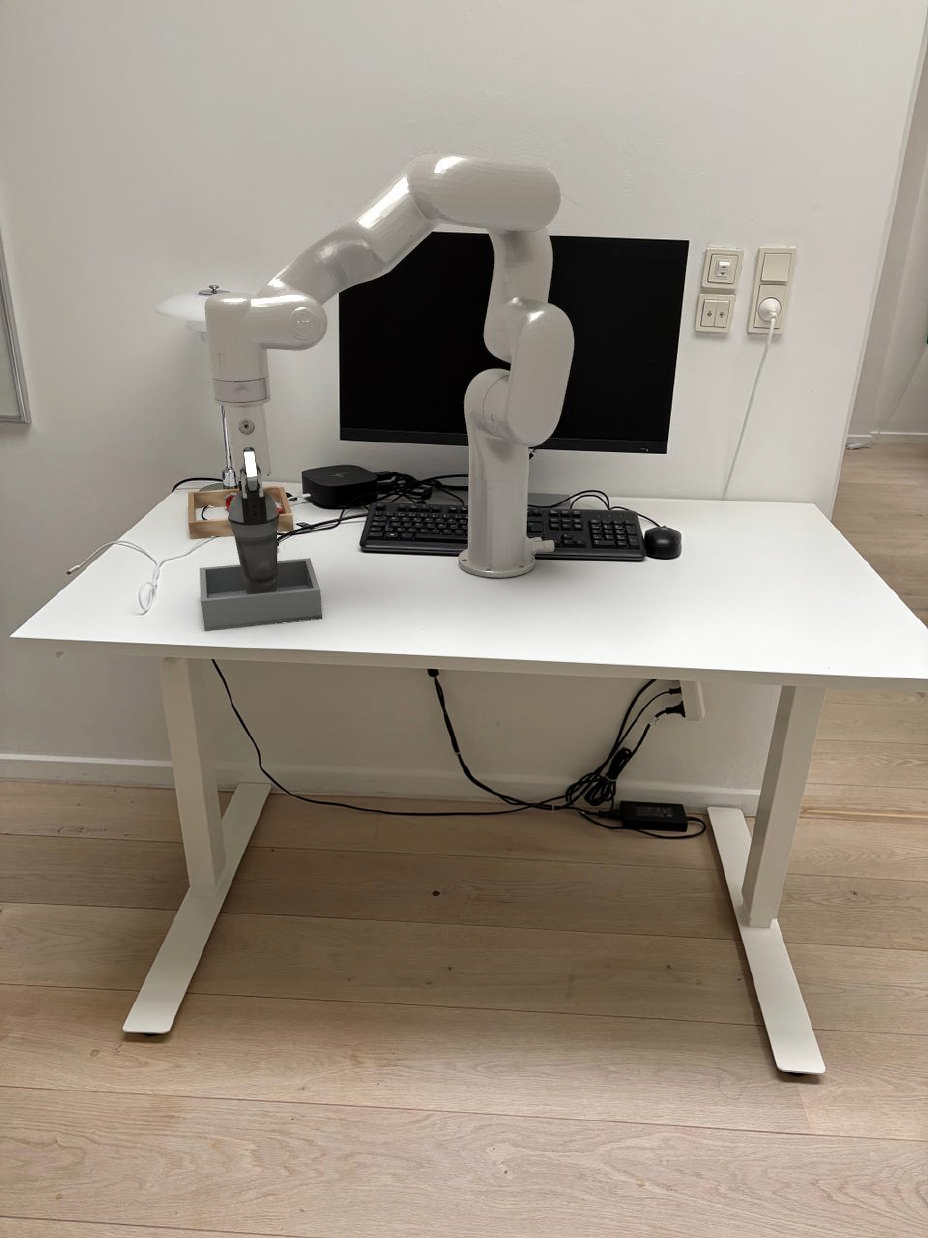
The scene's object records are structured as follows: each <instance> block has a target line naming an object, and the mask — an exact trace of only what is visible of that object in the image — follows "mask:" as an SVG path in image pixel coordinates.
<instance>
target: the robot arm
mask: <svg viewBox="0 0 928 1238" xmlns="http://www.w3.org/2000/svg"><path fill="white" fill-rule="evenodd" d="M561 196H562V195H561V188H560V185H559V182H558V180H557V178H556V177H555V176H554V175H553V173H552V172H551V171H550V170H549V169H548V168H546V167H544V166H542V165H540V164H537V163H531V162H530V163H529V162H523V161H522V162H521V161H512V160H511V161H510V160H503V159H495V158H494V159H493V158H487V157H486V158H485V157H479V156H478V157H477V156H473V155H466V154H461V153H460V154H458V153H427V154H426V153H425V154H422V155H419V156H417V157H415V158H414V159H412V160H411V161H410V162H408V163H407V164H406V165H404V166H403V167H402V168H401V169H400V170H399V171H398V172H397V173H396V174H395V175H393V177H392V178H391V179H390V180H388V181H387V182H386V183H385V184H384V185H383V186H382V187H381V188H380V189H379V190H378V191H376V193H374V195H373V196H372V197H370V198H369V199H368V200H367V201H366V202H364V204H363V205H362V206H360V208H358V209H357V211H356V212H354V213H353V214H352V215H350V217H348V219H346V220H345V221H344V222H342V223H341V224H339V225H338V226H336V227H335V228H334V229H331V230H330V231H329V232H328V233H326V234H325V235H324V236H322V237H321V238H320V239H318V240H317V241H315V242H314V243H312V244H311V245H309V246H308V247H306V248H305V249H304V250H302V251H301V252H300V253H298V254H297V255H296V256H294V257H293V258H292V259H291V260H290V261H289V262H288V263H287V264H285V266H283V267H282V268H281V269H280V270H279V271H278V272H277V273H276V274H275V275H274V276H273V277H272V278H271V279H270V280H268V281H267V283H265V284H264V285H263V286H262V287H261V289H260V290H259V291H258V292H257V294H253V293H249V292H237V291H236V292H235V291H234V292H223V293H222V292H220V293H215V294H212V295H210V296H208V297H207V298H206V300H205V302H204V318H205V327H206V338H207V347H208V354H209V355H208V356H209V363H210V365H209V366H210V374H211V381H212V393H213V399H214V400H213V402H214V403H215V404H216V405H219V406H222V407H223V408H224V416H225V417H224V418H225V427H226V435H227V440H228V447H229V452H230V457H231V462H232V466H233V469H234V470H233V471H234V473H235V476H236V477H237V478H239V480H237V481H238V489H239V492H240V491H241V490H242V492H243V497H241V501H242V511H243V521H244V525H259V524H266V523H267V513H266V502H265V495H263V487H264V486H263V481H262V479H263V478H262V477H263V475H266V477H270V476H271V475H272V465H271V457H270V446H269V445H270V444H269V435H268V425H267V417H266V410H265V405H264V404H267V403H269V402H270V401H271V400H272V397H271V396H272V395H271V394H272V393H271V386H270V385H271V384H270V375H269V361H268V350H279V351H282V350H283V351H292V352H293V351H294V352H296V351H297V352H298V351H299V352H301V351H305V350H310V349H311V348H313V347H314V348H315V346H317V345H319V343H321V341H322V340H323V339H324V338H325V335H326V333H327V331H328V326H329V323H328V322H329V320H328V316H327V312H326V310H325V308H324V307H323V305H325V304H326V303H328V301H330V300H331V299H332V298H334V297H335V296H336V295H338V294H339V293H342V292H343V291H345V290H347V289H348V288H351V287H353V286H355V285H358V284H362V283H366V282H369V281H373V280H375V279H377V278H380V277H382V276H384V275H385V274H388V273H390V272H391V271H392V270H393V269H394V268H395V267H396V266H397V265H398V264H400V262H402V261H403V259H405V258H406V256H408V255H409V254H410V253H411V252H412V251H413V250H414V249H415V248H416V247H417V246H418V245H420V243H421V242H422V241H424V239H426V238H427V237H428V236H429V235H431V233H432V232H433V231H434V230H435V229H436V228H437V227H439V226H440V225H441V224H443V225H453V226H460V227H467V228H474V229H484V230H486V232H487V233H488V235H489V237H490V240H491V243H492V246H493V247H492V248H493V252H494V265H493V267H494V268H493V274H492V275H493V276H492V282H491V287H490V294H489V300H488V306H487V312H486V317H485V322H484V331H483V339H484V344H485V347H486V348H487V350H488V351H489V352H490V353H491V354H492V356H494V357H495V358H498V359H500V360H502V361H504V362H507V363H509V364H510V369H509V370H507V369H503V368H491V369H490V368H489V369H486V370H483V371H481V372H479V373H478V374H477V375H475V377H473V378H472V380H471V381H470V382H469V384H468V386H467V389H466V390H465V394H464V400H463V404H464V406H463V408H464V409H463V410H464V419H465V424H466V425H465V426H466V432H467V440H468V443H467V444H468V502H467V503H468V506H467V507H468V511H467V512H468V513H467V514H468V515H467V517H468V518H467V519H468V521H467V522H468V523H467V548H466V549H464V550H463V551H461V552H460V553H459V555H458V565H459V567H460V568H461V569H462V570H464V571H465V572H467V573H470V574H472V575H475V576H480V577H485V578H501V579H502V578H511V577H517V576H520V575H523V574H526V573H529V572H530V571H531V570H533V568H534V567H535V560H536V559H535V555H537V553H550V552H551V553H552V552H554V551H555V543H554V540H553V539H549V540H543V538H542V537H541V536H540V537H539V536H538V537H531V538H529V537H528V535H527V524H528V523H527V518H528V497H529V495H528V492H529V474H530V473H529V471H530V455H529V448H530V447H537V446H539V445H542V444H543V443H544V442H546V441H547V440H548V439H549V438H550V437H551V436H552V434H553V433H554V431H555V430H556V427H557V425H558V423H559V421H560V417H561V414H562V410H563V406H564V401H565V397H566V396H565V395H566V392H567V387H568V382H569V377H570V371H571V366H572V362H573V357H574V351H575V336H574V330H573V326H572V323H571V320H570V318H569V317H568V315H567V314H566V313H565V312H564V311H563V309H561V308H559V307H557V306H556V305H554V304H552V303H549V302H548V300H549V292H550V287H551V279H552V271H553V259H554V258H553V248H552V242H551V239H550V238H551V237H550V234H549V232H548V228H547V226H548V225H550V224H551V223H552V221H553V220H555V217H556V216H557V215H558V212H559V210H560V205H561V198H562V197H561ZM243 472H245V475H243ZM245 480H247V483H245ZM246 490H247V492H246Z"/></svg>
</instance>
